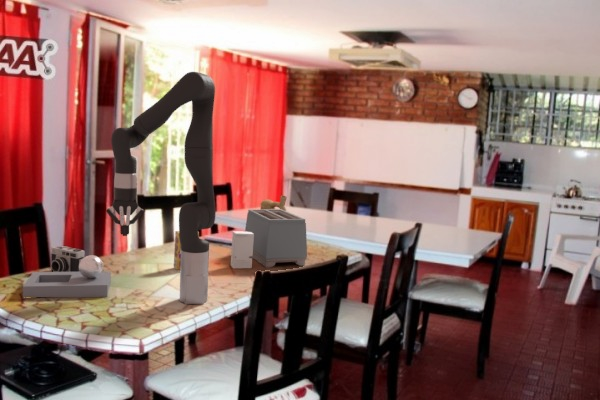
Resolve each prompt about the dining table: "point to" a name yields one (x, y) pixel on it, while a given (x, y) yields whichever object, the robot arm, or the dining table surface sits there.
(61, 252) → the camera
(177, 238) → the candy box
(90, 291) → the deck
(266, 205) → the tan irregular piece
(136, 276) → the dining table surface
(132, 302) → the dining table surface
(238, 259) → the skincare box
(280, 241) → the toaster
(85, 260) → the ball
